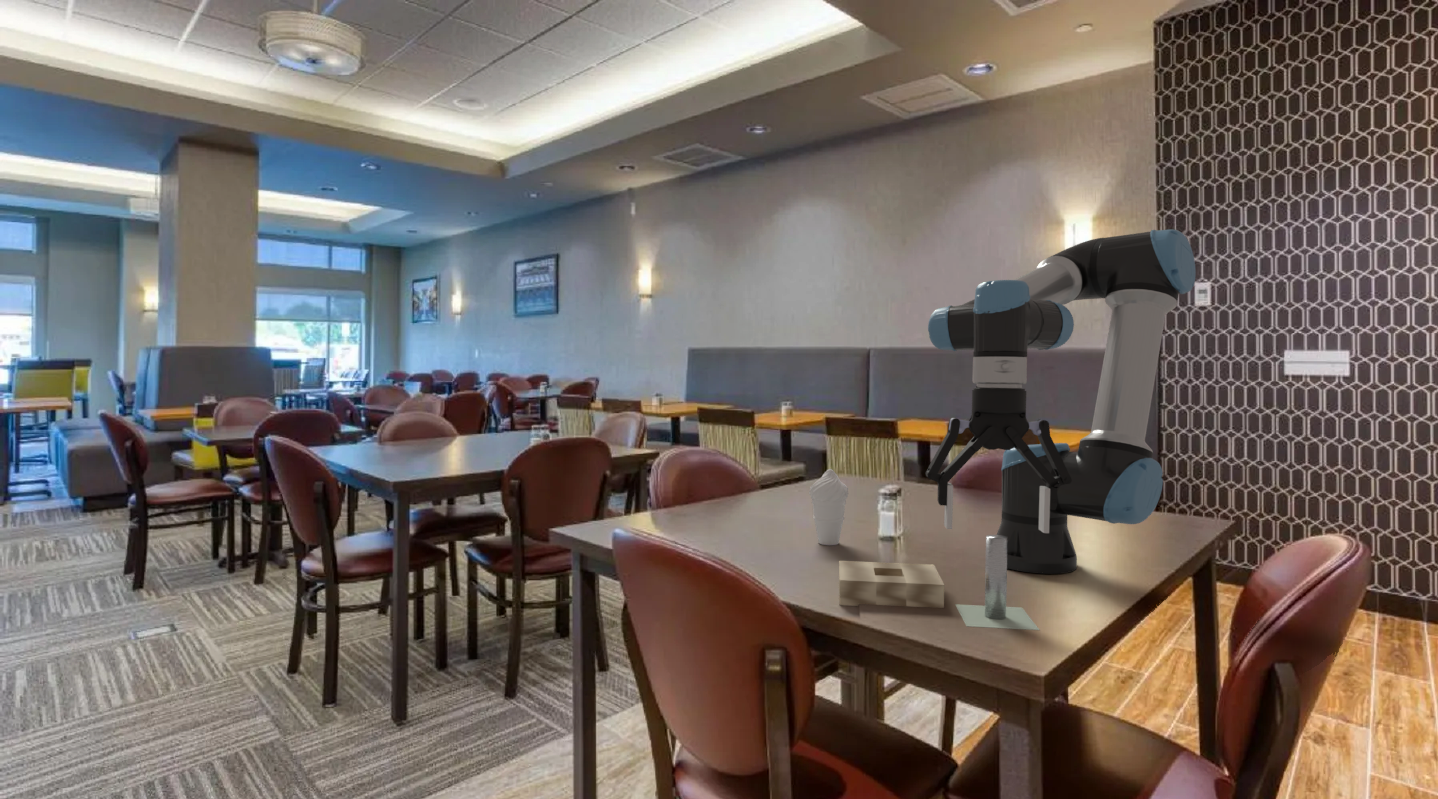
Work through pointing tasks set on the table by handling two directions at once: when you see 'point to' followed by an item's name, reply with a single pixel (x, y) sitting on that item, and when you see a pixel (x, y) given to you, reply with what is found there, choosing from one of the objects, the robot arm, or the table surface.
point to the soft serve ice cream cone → (828, 507)
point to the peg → (996, 577)
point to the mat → (1014, 620)
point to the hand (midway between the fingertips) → (995, 529)
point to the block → (890, 584)
